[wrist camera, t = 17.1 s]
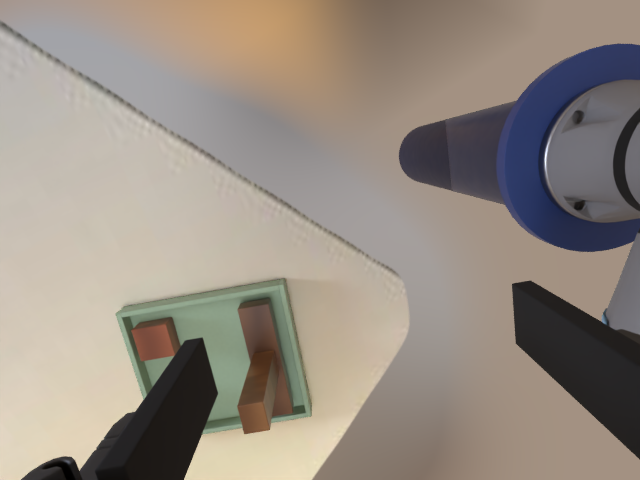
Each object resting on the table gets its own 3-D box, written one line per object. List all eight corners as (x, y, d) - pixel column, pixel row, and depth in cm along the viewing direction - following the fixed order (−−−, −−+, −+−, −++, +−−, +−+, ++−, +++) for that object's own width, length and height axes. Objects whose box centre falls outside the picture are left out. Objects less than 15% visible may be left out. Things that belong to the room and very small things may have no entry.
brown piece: (271, 295, 43) (255, 345, 32) (294, 399, 46) (287, 478, 35) (241, 300, 43) (215, 352, 32) (266, 404, 46) (251, 484, 35)
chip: (172, 316, 43) (165, 324, 41) (181, 347, 44) (175, 356, 42) (138, 322, 43) (130, 330, 41) (148, 352, 44) (141, 361, 42)
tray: (284, 278, 43) (283, 284, 41) (311, 405, 47) (311, 416, 45) (124, 306, 43) (115, 313, 41) (163, 430, 47) (157, 442, 45)
